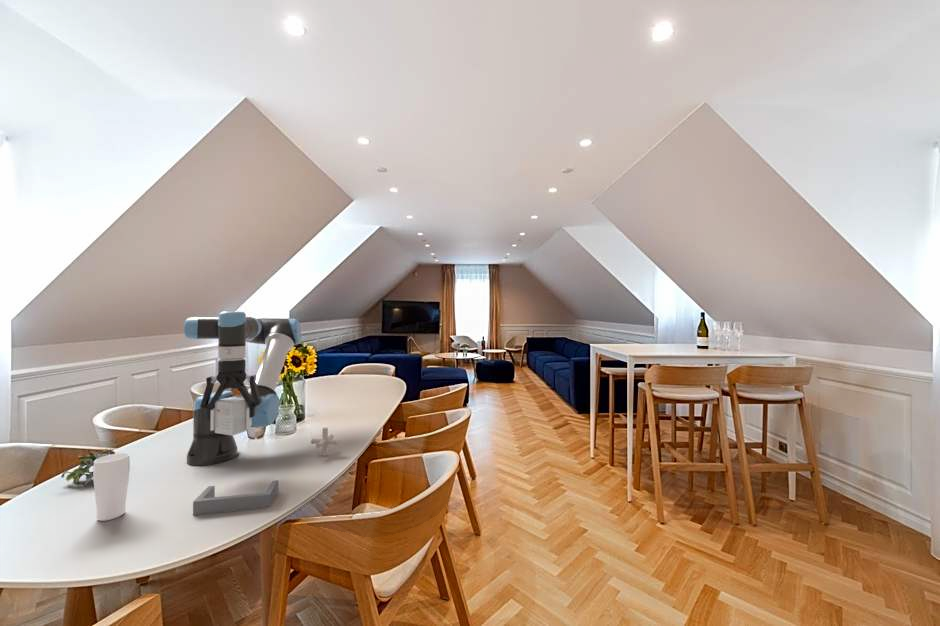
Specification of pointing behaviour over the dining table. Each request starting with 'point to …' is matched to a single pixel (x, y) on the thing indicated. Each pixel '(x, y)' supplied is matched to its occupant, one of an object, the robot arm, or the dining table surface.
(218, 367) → the robot arm
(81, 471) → the green leafy plant
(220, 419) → the small box
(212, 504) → the square bracket
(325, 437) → the pipe connector
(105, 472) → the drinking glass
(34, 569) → the dining table surface
